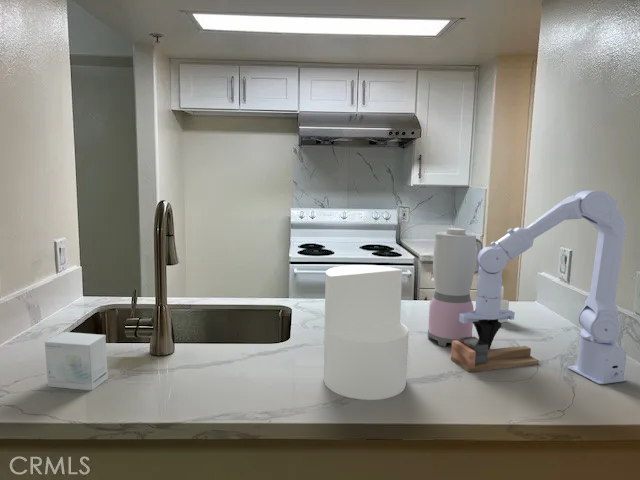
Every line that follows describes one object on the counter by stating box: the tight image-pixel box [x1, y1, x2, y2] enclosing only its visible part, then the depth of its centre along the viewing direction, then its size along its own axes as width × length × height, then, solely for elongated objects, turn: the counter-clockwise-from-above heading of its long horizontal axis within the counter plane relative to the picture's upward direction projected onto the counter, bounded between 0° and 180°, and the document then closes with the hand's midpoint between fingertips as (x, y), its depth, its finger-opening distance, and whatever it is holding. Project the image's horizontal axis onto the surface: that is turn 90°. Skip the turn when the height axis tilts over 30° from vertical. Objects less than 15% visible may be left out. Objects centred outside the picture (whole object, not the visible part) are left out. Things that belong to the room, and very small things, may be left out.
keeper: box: [460, 336, 488, 364], centre depth 116 cm, size 6×4×5 cm
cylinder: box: [323, 264, 409, 401], centre depth 105 cm, size 19×19×25 cm
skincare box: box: [44, 331, 109, 391], centre depth 102 cm, size 10×6×10 cm, turn 82°
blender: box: [427, 227, 483, 347], centre depth 132 cm, size 16×12×32 cm
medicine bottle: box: [498, 285, 510, 324], centre depth 152 cm, size 7×7×12 cm
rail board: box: [450, 340, 540, 373], centre depth 118 cm, size 8×20×5 cm, turn 106°
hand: (484, 348), depth 117 cm, fingers closed
